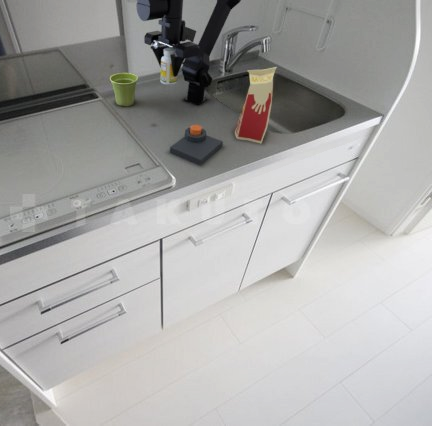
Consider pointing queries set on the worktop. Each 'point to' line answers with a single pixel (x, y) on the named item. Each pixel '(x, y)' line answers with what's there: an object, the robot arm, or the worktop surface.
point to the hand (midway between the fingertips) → (169, 73)
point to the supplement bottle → (167, 68)
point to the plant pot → (124, 88)
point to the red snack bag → (256, 106)
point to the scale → (196, 147)
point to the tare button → (195, 130)
